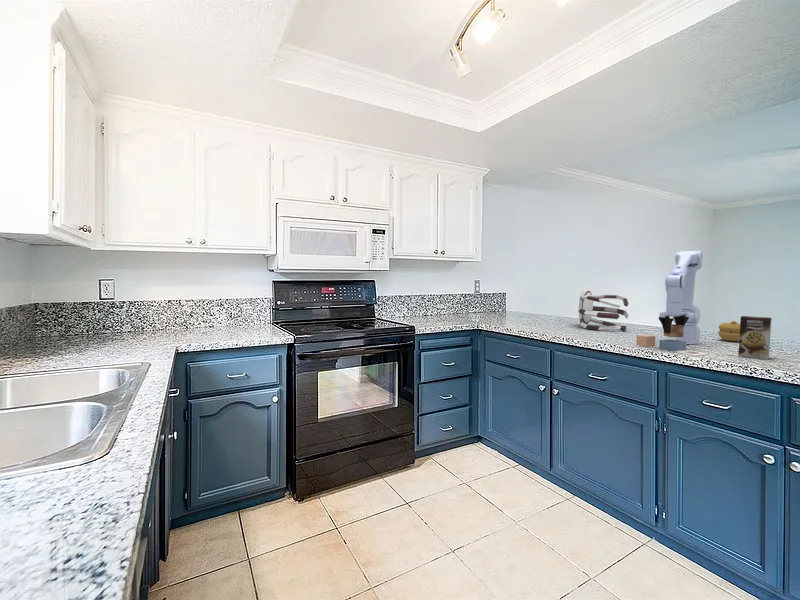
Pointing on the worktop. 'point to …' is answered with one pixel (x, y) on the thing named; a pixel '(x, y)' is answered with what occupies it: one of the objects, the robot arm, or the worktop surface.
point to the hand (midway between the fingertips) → (673, 333)
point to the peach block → (645, 340)
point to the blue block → (672, 344)
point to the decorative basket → (588, 308)
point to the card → (692, 353)
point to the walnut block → (675, 331)
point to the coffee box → (754, 337)
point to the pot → (730, 331)
